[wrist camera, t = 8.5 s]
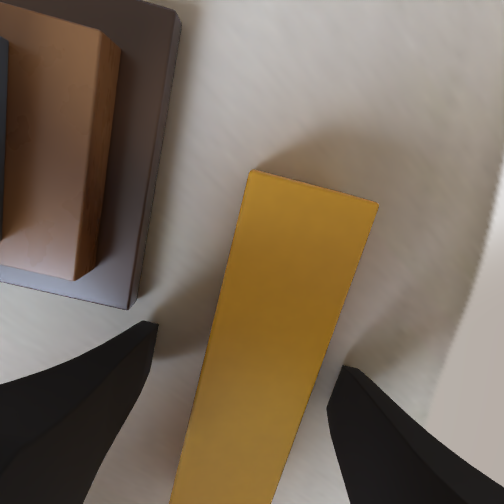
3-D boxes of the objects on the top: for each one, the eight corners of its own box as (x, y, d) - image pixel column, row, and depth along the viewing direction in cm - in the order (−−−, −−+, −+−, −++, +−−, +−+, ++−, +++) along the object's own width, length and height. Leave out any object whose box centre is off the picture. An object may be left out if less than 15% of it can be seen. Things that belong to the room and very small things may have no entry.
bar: (243, 499, 14) (241, 588, 11) (173, 486, 14) (152, 572, 11) (344, 193, 10) (382, 203, 7) (250, 168, 10) (249, 169, 7)
